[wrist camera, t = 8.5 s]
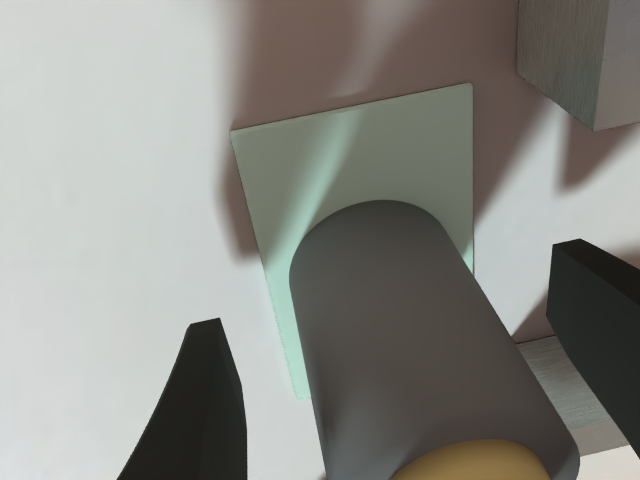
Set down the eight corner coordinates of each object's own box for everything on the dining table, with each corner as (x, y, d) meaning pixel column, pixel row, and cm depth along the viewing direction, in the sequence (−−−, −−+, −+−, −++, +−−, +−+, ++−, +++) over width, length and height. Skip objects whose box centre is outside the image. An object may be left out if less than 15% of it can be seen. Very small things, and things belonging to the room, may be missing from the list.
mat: (469, 82, 12) (472, 85, 12) (469, 355, 17) (472, 360, 17) (229, 131, 12) (229, 135, 12) (295, 394, 17) (296, 400, 17)
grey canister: (445, 180, 13) (620, 427, 8) (456, 312, 16) (597, 575, 10) (270, 225, 13) (321, 506, 8) (307, 350, 16) (366, 638, 10)
